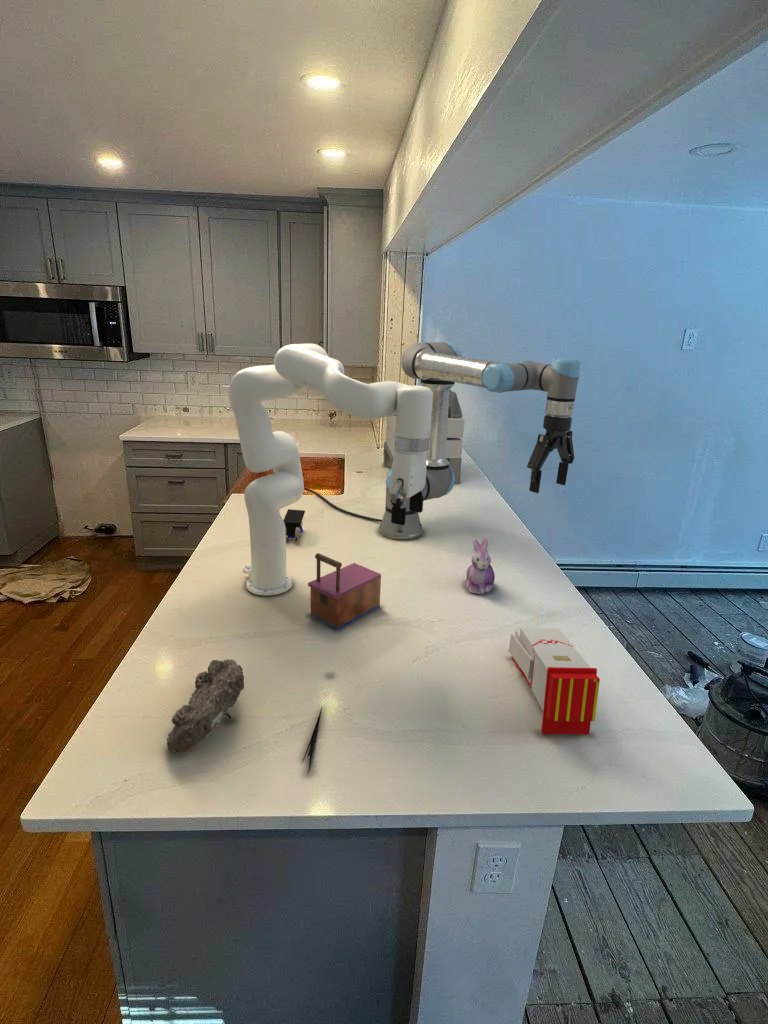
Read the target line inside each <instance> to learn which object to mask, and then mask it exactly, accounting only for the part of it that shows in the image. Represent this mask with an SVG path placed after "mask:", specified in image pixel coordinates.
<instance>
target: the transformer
mask: <svg viewBox="0 0 768 1024" xmlns="http://www.w3.org/2000/svg"><path fill="white" fill-rule="evenodd" d="M385 423H386V428H385V438H384V442H383V466H384V467H388V468H389V470H390V469H392V464H393V458H394V454H395V452H396V451H395V450H394V449H395V430H396V415H391V416H386V417H385ZM464 429H465V419H464V418H463V411H462V408H461V405H460V402H459V398H458V395H457V392H455V391H453V390H452V389H450V393H449V409H448V424H447V439H446V455H445V458H446V459H447V460H448V461H449V466H450V467H451V468H452V470H453V471H452V472H453V473H454V475H455V483H456V484H459V483H461V472H462V461H463V460H462V453H463V442H464V441H463V440H462V439H463V438H464V431H465V430H464ZM455 483H454V484H455Z"/></svg>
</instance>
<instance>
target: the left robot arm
mask: <svg viewBox="0 0 768 1024" xmlns="http://www.w3.org/2000/svg"><path fill="white" fill-rule="evenodd" d="M304 389H308V390H311V391H313V392H315V393H318V394H320V395H322V396H324V397H325V399H326V401H327V402H329V404H330V405H331V406H332V407H334V408H335V409H337V410H339V411H341V412H343V413H346V414H348V415H350V416H352V417H355V418H358V419H361V420H365V421H375V420H378V419H381V418H386V416H391V415H396V430H395V449H394V450H395V451H396V452H395V454H394V458H393V464H392V471H391V480H390V496H391V506H392V515H391V522H392V523H394V524H399V525H405V519H406V508H404V507H405V504H406V501H407V498H410V505H409V510H410V511H415V512H418V513H423V510H424V501H423V498H424V496H423V495H424V487H425V485H426V484H425V482H426V476H427V474H426V467H427V453H428V452H429V441H430V427H431V414H432V401H433V393H432V391H431V389H430V388H427V387H424V386H422V385H415V384H414V385H408V384H405V383H402V382H398V381H394V380H384V381H376V382H370V383H366V382H362V381H359V380H357V379H354V378H352V377H350V376H347V375H346V374H345V367H344V365H343V363H342V362H341V361H340V360H338V359H336V358H333V357H330V356H329V355H328V353H327V351H326V350H325V348H323V347H322V346H320V345H319V344H317V343H310V342H309V343H291V344H287V345H284V346H282V347H280V349H278V350H277V351H276V353H275V355H274V358H273V364H268V365H267V364H264V365H253V366H250V367H244V368H242V369H241V370H239V371H238V372H236V373H235V374H234V375H233V376H232V378H231V380H230V382H229V385H228V398H229V403H230V407H231V409H232V413H233V415H234V418H235V422H236V426H237V428H236V429H237V433H238V438H239V443H240V449H241V455H242V459H243V463H244V465H245V467H246V469H248V471H250V472H252V473H255V474H256V473H257V474H259V473H264V472H268V471H272V470H273V473H271V474H267V475H263V476H261V477H258V478H255V479H254V480H252V481H251V482H250V483H248V484H247V486H246V488H245V489H244V495H243V498H244V503H245V507H246V510H247V516H248V517H247V518H248V524H249V525H248V526H249V544H250V545H249V546H250V563H245V565H244V568H243V569H242V574H244V575H248V579H246V582H245V586H246V589H247V591H248V592H250V593H252V594H254V595H257V596H268V597H269V596H276V595H281V594H283V593H286V592H288V590H290V589H291V588H292V586H293V579H292V578H291V577H290V576H289V575H287V542H286V538H287V536H286V532H285V523H284V518H283V517H282V515H281V513H280V510H282V509H284V508H285V507H287V506H291V505H293V504H295V503H297V502H299V501H300V500H301V498H302V497H303V496H304V492H305V489H304V488H305V482H304V475H303V470H302V464H301V457H300V451H299V446H298V445H297V442H296V441H295V439H294V437H293V436H292V435H291V434H289V433H288V432H286V431H282V430H276V431H273V428H272V424H271V423H272V422H271V418H270V415H269V414H268V411H267V410H266V408H265V406H263V404H262V402H264V401H272V400H279V399H285V398H288V397H291V396H294V395H296V394H297V393H299V392H300V391H303V390H304ZM399 492H401V493H405V494H401V493H399ZM398 497H400V498H403V500H402V502H401V500H400V499H399V498H398Z"/></svg>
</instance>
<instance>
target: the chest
mask: <svg viewBox="0 0 768 1024" xmlns="http://www.w3.org/2000/svg"><path fill="white" fill-rule="evenodd" d="M381 585H382V576H381V577H380V578H378V579H376V580H374V581H372V582H370V583H368V584H366V585H364V586H362V587H360V588H358V589H355V590H353V591H351V592H349V593H347V594H345V595H343V596H341V597H339V598H337V599H334V598H332V597H330V596H328V595H325V594H323V593H321V592H319V591H317V590H315V589H313V588H311V587H310V617H312V618H314V619H316V620H317V621H320V622H321V623H323V624H325V625H327V626H329V627H331V628H333V629H335V630H337V631H338V630H340V629H341V628H343V627H345V626H347V625H349V624H351V623H353V622H355V621H357V620H358V619H360V618H362V617H364V616H366V615H368V614H370V613H371V612H373V611H376V610H377V609H379V608H380V607H381V589H382V588H381V587H382V586H381Z"/></svg>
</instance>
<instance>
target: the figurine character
mask: <svg viewBox="0 0 768 1024" xmlns="http://www.w3.org/2000/svg"><path fill="white" fill-rule="evenodd" d="M305 513H306V510H305V509H303V510H302V509H290V508H289V509H287V511H286V513H285V516H284V518H283V520H284V523H285V532H286V543H288V542H289V539H294V541H293V542H294V543H296V542H297V541H298V538H299V539H300V538H301V534H302V533H303V532H304V528H303V525H304V524H303V523H304V522H303V519H304V517H305Z"/></svg>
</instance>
